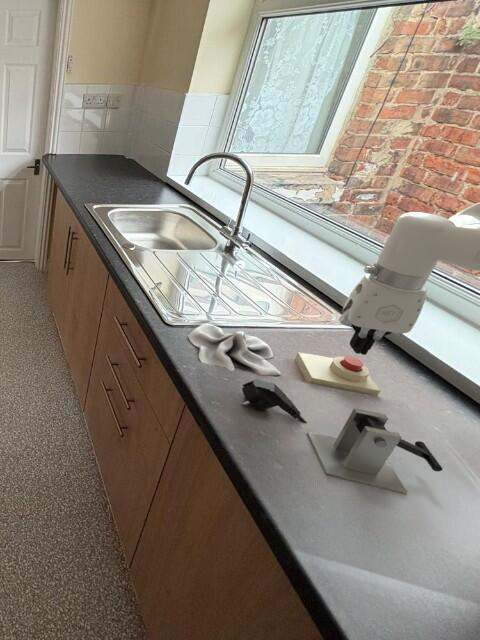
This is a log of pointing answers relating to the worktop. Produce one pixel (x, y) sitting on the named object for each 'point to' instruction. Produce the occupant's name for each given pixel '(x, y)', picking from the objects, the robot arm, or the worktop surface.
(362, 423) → the switch lever
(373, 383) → the control block
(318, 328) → the worktop surface
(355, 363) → the button
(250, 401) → the power plug
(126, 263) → the worktop surface
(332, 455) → the lever mounting bracket
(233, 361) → the cloth
